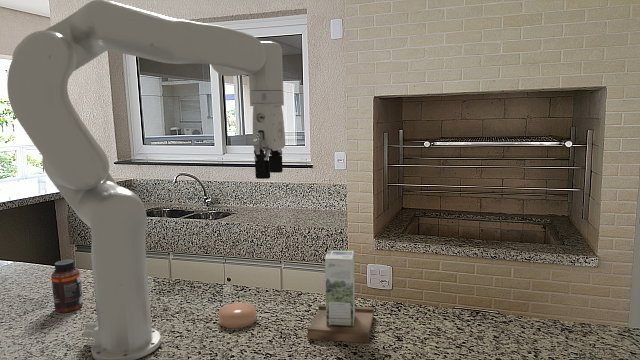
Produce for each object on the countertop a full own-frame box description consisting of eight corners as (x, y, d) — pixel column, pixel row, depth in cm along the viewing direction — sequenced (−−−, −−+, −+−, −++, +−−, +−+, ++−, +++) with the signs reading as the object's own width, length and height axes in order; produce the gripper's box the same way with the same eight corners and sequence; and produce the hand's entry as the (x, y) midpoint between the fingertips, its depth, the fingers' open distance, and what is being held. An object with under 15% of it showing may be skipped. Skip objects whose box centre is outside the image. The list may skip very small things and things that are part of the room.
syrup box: (355, 315, 103) (354, 249, 100) (354, 327, 97) (353, 258, 95) (328, 314, 103) (327, 248, 101) (325, 326, 98) (324, 257, 95)
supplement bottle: (89, 304, 115) (84, 259, 113) (67, 315, 110) (62, 267, 108) (70, 301, 117) (65, 256, 116) (48, 311, 112) (43, 264, 110)
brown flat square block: (307, 338, 96) (307, 328, 96) (319, 313, 107) (319, 304, 107) (368, 343, 93) (367, 333, 93) (373, 316, 105) (373, 307, 105)
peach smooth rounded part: (212, 326, 103) (211, 315, 102) (231, 311, 110) (230, 300, 110) (245, 331, 100) (244, 320, 100) (262, 315, 107) (262, 305, 107)
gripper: (271, 98, 98) (274, 181, 101) (292, 99, 115) (295, 170, 118) (236, 99, 100) (240, 181, 103) (262, 100, 117) (265, 170, 119)
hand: (269, 175), depth 110 cm, fingers open, 9 cm apart
